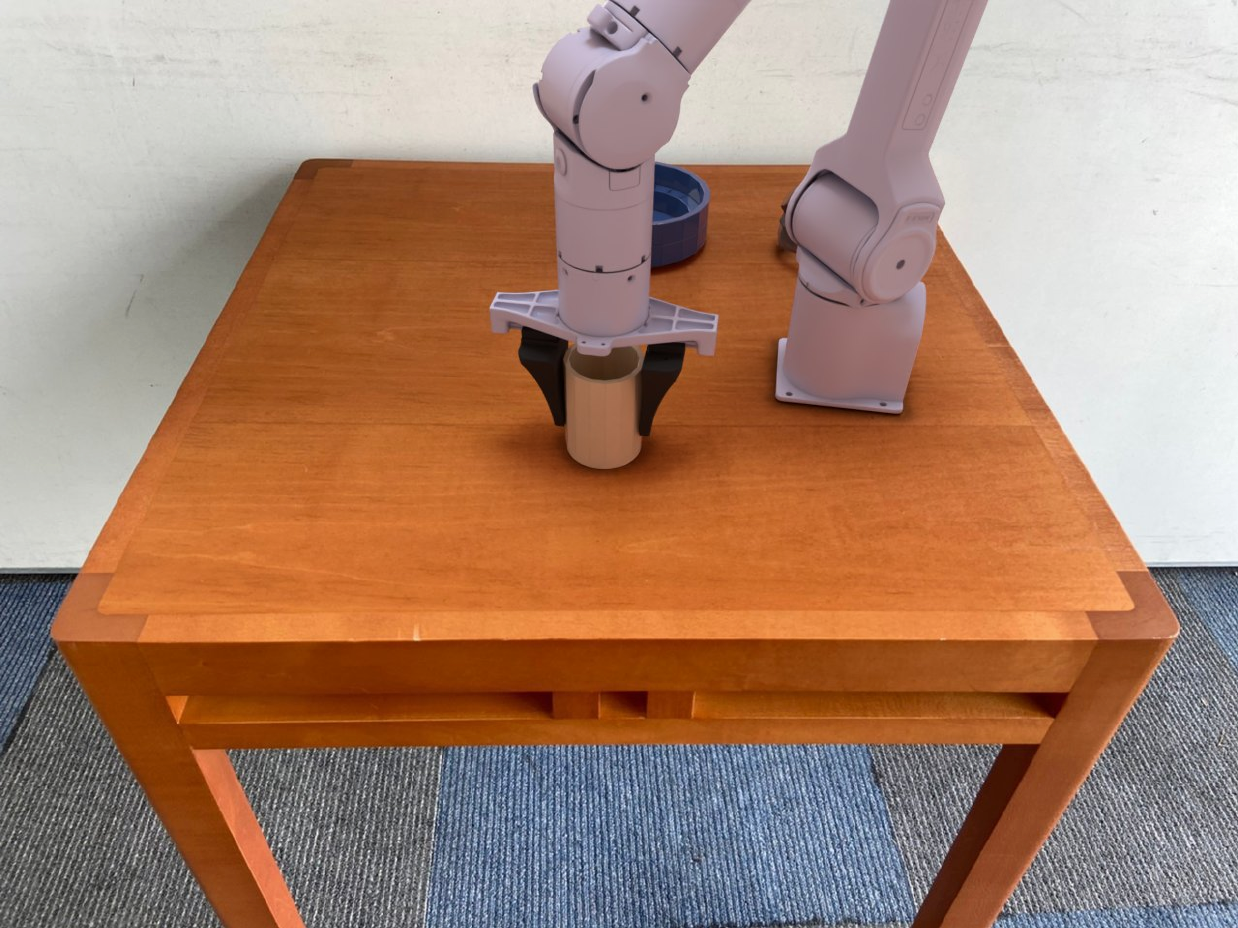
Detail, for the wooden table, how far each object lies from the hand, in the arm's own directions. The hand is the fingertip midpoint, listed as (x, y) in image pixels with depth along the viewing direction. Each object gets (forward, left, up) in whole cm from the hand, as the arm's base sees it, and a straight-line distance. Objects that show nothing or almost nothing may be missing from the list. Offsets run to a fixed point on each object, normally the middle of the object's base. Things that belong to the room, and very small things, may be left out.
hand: (603, 422), depth 64 cm
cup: (0, 0, -2) cm, 2 cm away
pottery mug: (-16, -32, -2) cm, 36 cm away
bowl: (+2, -30, -2) cm, 30 cm away
